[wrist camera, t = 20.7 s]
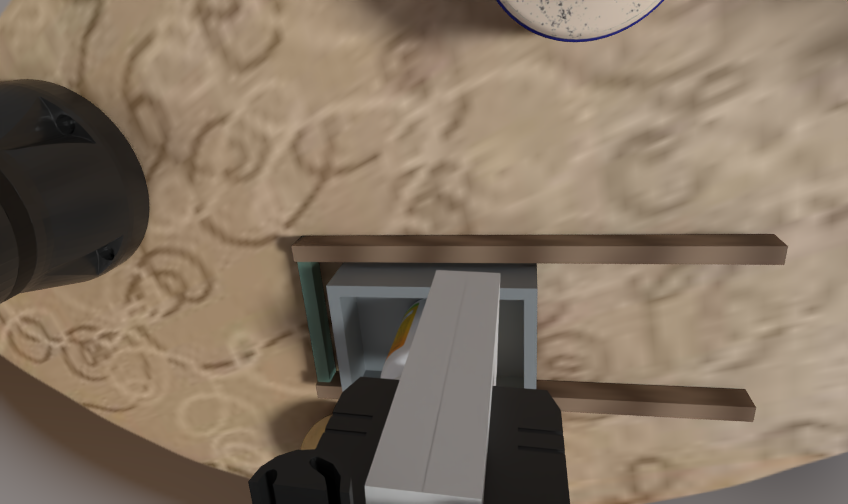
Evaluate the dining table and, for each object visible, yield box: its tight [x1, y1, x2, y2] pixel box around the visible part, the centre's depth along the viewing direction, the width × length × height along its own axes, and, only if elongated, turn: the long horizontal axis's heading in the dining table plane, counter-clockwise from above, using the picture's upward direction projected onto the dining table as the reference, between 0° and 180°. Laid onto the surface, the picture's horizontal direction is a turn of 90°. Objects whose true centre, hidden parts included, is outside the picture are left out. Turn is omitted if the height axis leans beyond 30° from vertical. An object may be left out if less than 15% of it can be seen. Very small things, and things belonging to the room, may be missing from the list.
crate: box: [326, 262, 537, 392], centre depth 39 cm, size 14×10×4 cm
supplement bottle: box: [381, 298, 427, 380], centre depth 35 cm, size 5×5×10 cm
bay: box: [291, 234, 788, 422], centre depth 39 cm, size 32×13×2 cm, turn 94°
